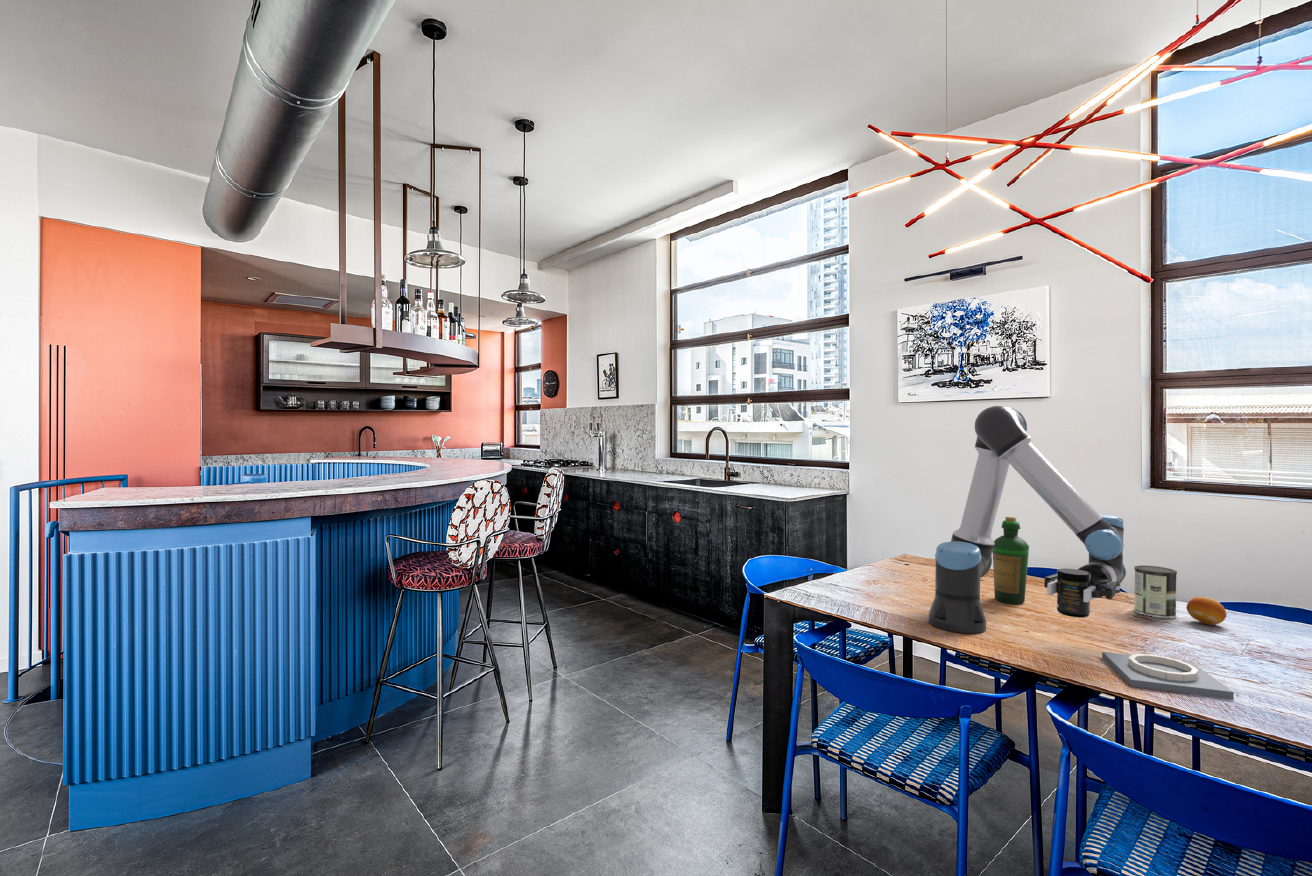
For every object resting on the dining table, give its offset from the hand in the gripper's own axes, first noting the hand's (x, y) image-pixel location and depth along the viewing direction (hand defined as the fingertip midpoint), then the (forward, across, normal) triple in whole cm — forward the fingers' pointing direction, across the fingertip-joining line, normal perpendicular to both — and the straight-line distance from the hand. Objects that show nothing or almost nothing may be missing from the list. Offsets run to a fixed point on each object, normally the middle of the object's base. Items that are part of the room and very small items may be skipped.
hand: (1066, 593), depth 144 cm
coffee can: (-73, -4, -18) cm, 75 cm away
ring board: (-12, -16, -18) cm, 27 cm away
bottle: (-52, +30, -18) cm, 63 cm away
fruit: (-72, -16, -18) cm, 76 cm away
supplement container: (-5, 0, -6) cm, 8 cm away
